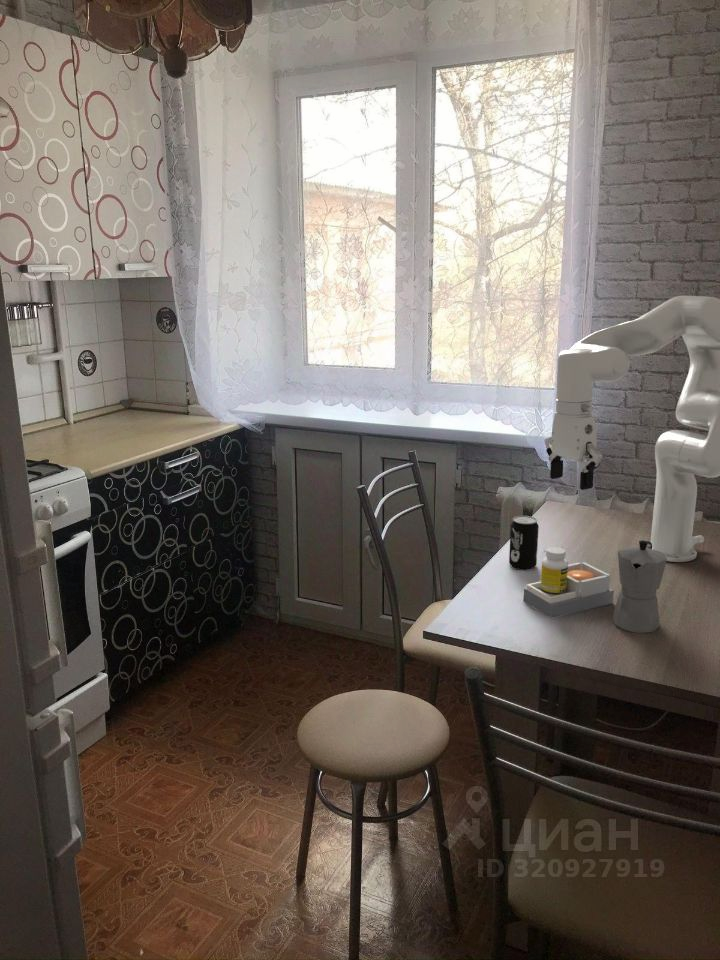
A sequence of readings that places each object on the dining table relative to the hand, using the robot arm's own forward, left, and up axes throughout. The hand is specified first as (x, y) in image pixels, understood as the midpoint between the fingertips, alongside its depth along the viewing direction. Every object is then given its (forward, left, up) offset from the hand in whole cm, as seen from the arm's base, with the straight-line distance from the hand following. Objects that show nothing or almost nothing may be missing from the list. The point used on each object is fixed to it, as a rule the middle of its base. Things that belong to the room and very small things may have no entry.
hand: (571, 483), depth 174 cm
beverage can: (+2, -13, -24) cm, 27 cm away
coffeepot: (0, +22, -24) cm, 33 cm away
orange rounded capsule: (+3, +9, -23) cm, 25 cm away
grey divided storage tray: (+6, +9, -24) cm, 26 cm away
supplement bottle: (+10, +9, -21) cm, 25 cm away
